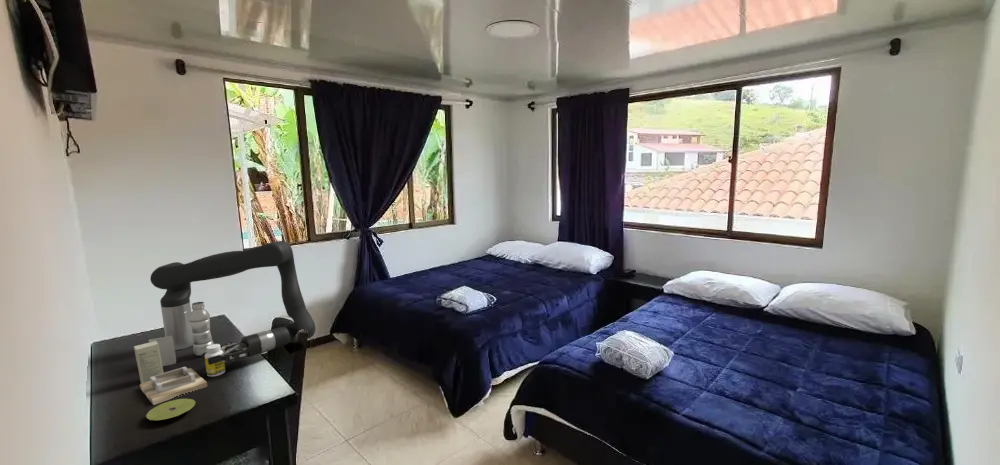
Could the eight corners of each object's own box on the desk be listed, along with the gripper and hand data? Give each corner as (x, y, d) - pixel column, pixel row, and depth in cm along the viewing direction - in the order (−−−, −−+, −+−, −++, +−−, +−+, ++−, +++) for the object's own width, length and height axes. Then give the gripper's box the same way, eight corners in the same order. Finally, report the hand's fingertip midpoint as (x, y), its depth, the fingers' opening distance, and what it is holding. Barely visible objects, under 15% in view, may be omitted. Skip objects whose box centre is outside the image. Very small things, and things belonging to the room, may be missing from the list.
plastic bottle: (215, 354, 166) (208, 303, 163) (193, 359, 162) (186, 307, 159) (214, 349, 171) (208, 299, 168) (193, 353, 167) (186, 302, 164)
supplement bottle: (216, 377, 147) (213, 349, 146) (202, 376, 148) (199, 348, 147) (229, 370, 153) (226, 343, 151) (216, 369, 154) (212, 342, 152)
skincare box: (162, 374, 151) (157, 340, 149) (164, 378, 148) (159, 343, 146) (138, 380, 147) (133, 345, 145) (140, 385, 144) (134, 349, 142)
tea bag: (175, 363, 159) (171, 337, 158) (152, 368, 155) (148, 341, 154) (176, 359, 162) (172, 334, 161) (153, 364, 159) (149, 338, 157)
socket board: (140, 388, 141) (138, 376, 140) (191, 372, 152) (190, 361, 151) (153, 405, 131) (151, 392, 130) (207, 386, 141) (205, 374, 141)
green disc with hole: (184, 400, 133) (183, 394, 133) (204, 410, 127) (203, 404, 127) (139, 419, 123) (138, 413, 123) (158, 430, 118) (157, 424, 117)
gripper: (249, 329, 164) (196, 343, 152) (265, 338, 155) (211, 354, 142) (251, 348, 165) (199, 364, 153) (268, 358, 156) (213, 376, 143)
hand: (205, 359), depth 148 cm, fingers closed on supplement bottle, 5 cm apart
